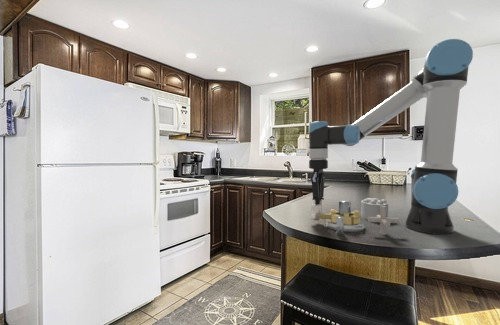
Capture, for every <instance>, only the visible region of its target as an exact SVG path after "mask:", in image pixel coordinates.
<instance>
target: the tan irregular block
mask: <svg viewBox="0 0 500 325" xmlns="http://www.w3.org/2000/svg"><path fill="white" fill-rule="evenodd" d="M310 208H311V212H310V214H311V215H310V216H311V218H310V220H312V221H321V220H330V221H332V222H334V223H336V219H337V217H344V224H347V225H351V224H353V225H355V224H359V223H360V221H361V210H355V209H354V210H353V211H351V216H349V212H343V216H341V215H339V210H338V211H337V210H336V209H333V208H331V209H330V212H329V213H323V212H322V213H321V205H320V204H315V203H311V207H310Z"/></svg>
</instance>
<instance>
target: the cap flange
mask: <svg viewBox="0 0 500 325" xmlns="http://www.w3.org/2000/svg"><path fill="white" fill-rule="evenodd" d="M338 211H339V215H341V216H343V212H349V216H351V212H352V201H351V200H338ZM325 226H326V227H327V228H328V229H330V230H334V231H336V223H334V222H332V221H330V220H327V219H325ZM364 229H365V222H363V221H361V220H360V223H359V224H355V225H353V224H351V225H347V224H344V232H346V233H347V232H348V233H358V232H362V231H364Z"/></svg>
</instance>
